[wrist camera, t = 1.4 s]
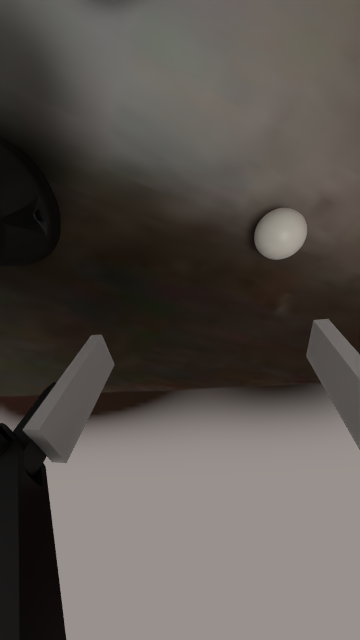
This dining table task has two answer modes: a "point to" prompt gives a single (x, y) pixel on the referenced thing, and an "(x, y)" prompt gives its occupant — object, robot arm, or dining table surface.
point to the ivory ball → (280, 233)
